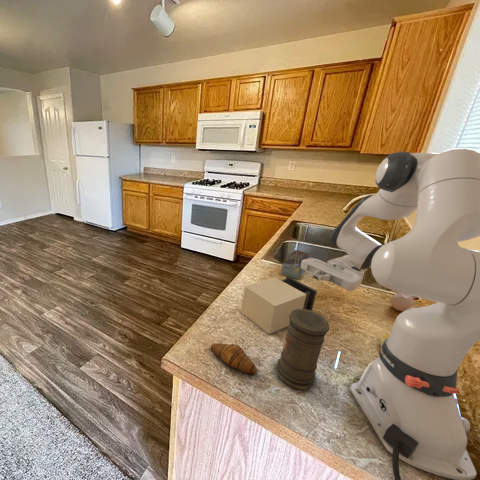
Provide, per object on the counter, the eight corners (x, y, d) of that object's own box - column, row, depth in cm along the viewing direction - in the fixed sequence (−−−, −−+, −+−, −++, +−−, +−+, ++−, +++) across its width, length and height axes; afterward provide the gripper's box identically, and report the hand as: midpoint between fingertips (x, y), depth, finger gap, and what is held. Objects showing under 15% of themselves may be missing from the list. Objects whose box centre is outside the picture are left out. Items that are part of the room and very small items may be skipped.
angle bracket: (290, 293, 104) (295, 273, 100) (318, 309, 94) (324, 288, 91) (258, 305, 96) (262, 284, 93) (285, 323, 87) (290, 301, 83)
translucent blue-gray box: (279, 274, 120) (282, 261, 118) (292, 260, 134) (294, 248, 132) (298, 279, 116) (301, 266, 113) (309, 265, 129) (312, 253, 127)
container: (317, 374, 69) (335, 318, 63) (308, 397, 63) (326, 337, 56) (282, 356, 75) (295, 302, 68) (270, 376, 68) (283, 319, 62)
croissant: (261, 368, 71) (264, 353, 69) (250, 384, 66) (253, 369, 64) (217, 343, 79) (218, 329, 77) (204, 355, 75) (206, 341, 73)
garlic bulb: (415, 313, 94) (423, 294, 91) (400, 315, 93) (409, 296, 90) (396, 302, 100) (403, 284, 97) (382, 304, 99) (389, 286, 96)
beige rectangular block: (270, 301, 100) (274, 277, 96) (299, 321, 89) (306, 294, 86) (240, 312, 94) (244, 286, 90) (269, 334, 83) (275, 306, 79)
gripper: (315, 252, 110) (292, 258, 104) (369, 273, 93) (346, 282, 88) (311, 265, 113) (289, 272, 107) (364, 289, 96) (341, 298, 90)
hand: (315, 277), depth 97 cm, fingers closed
